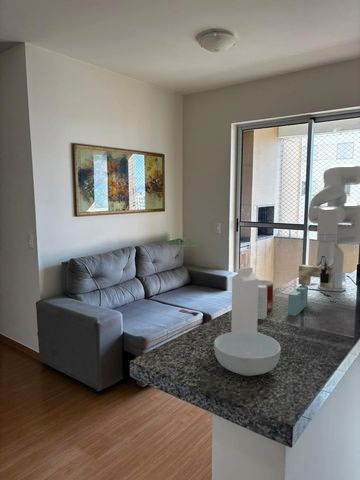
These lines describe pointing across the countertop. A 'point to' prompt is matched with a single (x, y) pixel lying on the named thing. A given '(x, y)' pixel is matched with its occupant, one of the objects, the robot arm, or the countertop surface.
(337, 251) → the robot arm
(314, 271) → the beige flat block
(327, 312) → the countertop surface
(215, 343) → the cereal bowl
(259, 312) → the skincare box
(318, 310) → the countertop surface
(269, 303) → the canned food
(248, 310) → the milk
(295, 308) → the light blue block
